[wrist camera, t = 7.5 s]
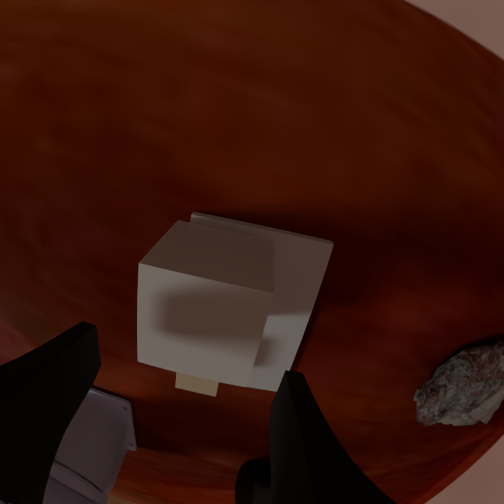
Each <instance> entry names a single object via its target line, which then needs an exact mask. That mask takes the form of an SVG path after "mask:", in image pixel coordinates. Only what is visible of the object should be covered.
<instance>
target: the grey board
mask: <svg viewBox="0 0 504 504" xmlns="http://www.w3.org/2000/svg"><path fill="white" fill-rule="evenodd" d="M190 223H194V224H199V225H203V226H208V227H213V228H218V229H222V230H227V231H232V232H236V233H241V234H246V235H250V236H255V237H260V238H264V239H269V240H273V246H274V296H273V300H272V303H271V307H270V310H269V314H268V317H267V321H266V324H265V328H264V331H263V335H262V338H261V341H260V345H259V348H258V351H257V355H256V358H255V361H254V365H253V368H252V371H251V375H250V378H249V381H248V384H247V387H252V388H257V389H264V390H270V391H277V390H278V388H279V385H280V383H281V380H282V378H283V375H284V372H285V370H287V371H290V368H291V366H292V363H293V360H294V358H295V355H296V353H297V350H298V347H299V345H300V342H301V339H302V337H303V334H304V331H305V329H306V326H307V323H308V320H309V317H310V315H311V312H312V309H313V306H314V303H315V300H316V297H317V295H318V292H319V289H320V286H321V283H322V280H323V277H324V274H325V271H326V268H327V264H328V261H329V258H330V255H331V252H332V249H333V245H334V244H333V242H332V241H330V240H325V239H321V238H316V237H312V236H308V235H303V234H298V233H294V232H289V231H285V230H280V229H276V228H271V227H266V226H262V225H257V224H252V223H247V222H243V221H238V220H233V219H228V218H223V217H218V216H213V215H208V214H203V213H198V212H193V213H192V215H191V222H190ZM218 383H219V382H217V381H213V380H208V379H204V378H199V377H195V376H191V375H186V374H182V373H178V372H176V388H180V389H184V390H188V391H193V392H197V393H201V394H206V395H211V396H216V393H217V388H218Z"/></svg>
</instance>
